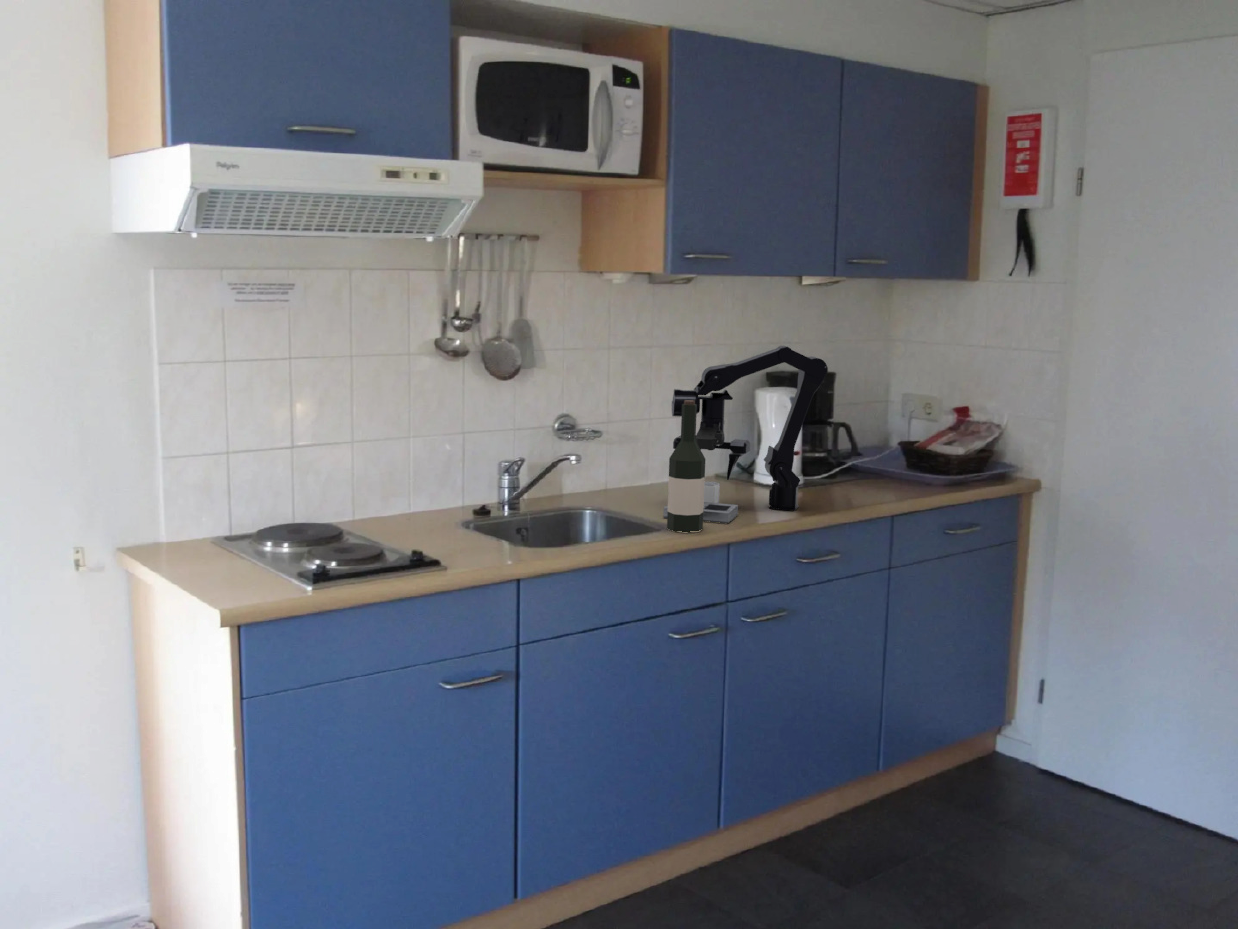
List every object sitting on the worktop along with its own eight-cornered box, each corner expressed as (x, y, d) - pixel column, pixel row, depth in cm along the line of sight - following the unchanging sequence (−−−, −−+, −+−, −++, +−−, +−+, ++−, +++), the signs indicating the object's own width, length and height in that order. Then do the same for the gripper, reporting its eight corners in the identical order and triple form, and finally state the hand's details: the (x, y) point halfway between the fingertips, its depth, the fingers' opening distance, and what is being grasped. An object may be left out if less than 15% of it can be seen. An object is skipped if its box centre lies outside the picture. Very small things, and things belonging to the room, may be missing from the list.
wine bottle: (687, 534, 277) (692, 403, 272) (659, 528, 282) (663, 400, 278) (710, 529, 283) (715, 401, 278) (682, 523, 289) (687, 397, 284)
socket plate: (737, 515, 300) (738, 502, 300) (727, 524, 290) (728, 510, 289) (675, 509, 305) (675, 497, 304) (663, 518, 295) (663, 505, 294)
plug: (718, 506, 311) (719, 482, 310) (714, 509, 306) (715, 485, 305) (703, 505, 312) (704, 480, 311) (698, 508, 308) (699, 484, 307)
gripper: (668, 418, 301) (666, 480, 303) (742, 423, 295) (739, 486, 298) (679, 413, 311) (678, 473, 314) (751, 417, 306) (749, 479, 308)
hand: (710, 478), depth 308 cm, fingers open, 9 cm apart
